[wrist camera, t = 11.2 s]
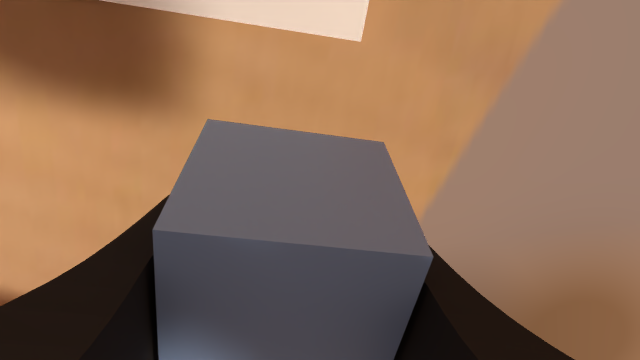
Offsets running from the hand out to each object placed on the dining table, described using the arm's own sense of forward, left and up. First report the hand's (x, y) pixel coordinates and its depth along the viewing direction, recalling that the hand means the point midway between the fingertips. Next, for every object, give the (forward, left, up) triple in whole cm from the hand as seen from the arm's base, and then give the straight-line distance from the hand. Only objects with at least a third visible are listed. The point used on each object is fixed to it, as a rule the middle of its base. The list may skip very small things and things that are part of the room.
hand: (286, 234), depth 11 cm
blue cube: (0, 0, -2) cm, 2 cm away
